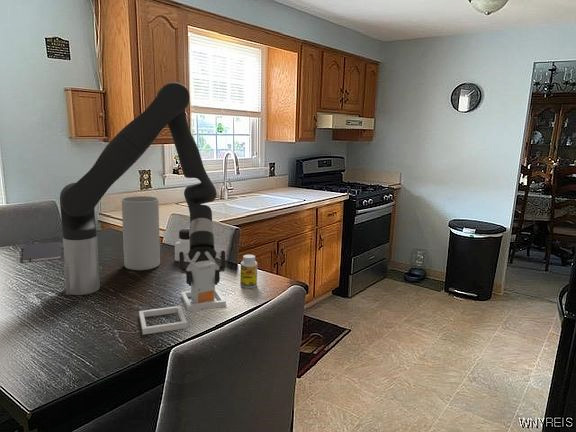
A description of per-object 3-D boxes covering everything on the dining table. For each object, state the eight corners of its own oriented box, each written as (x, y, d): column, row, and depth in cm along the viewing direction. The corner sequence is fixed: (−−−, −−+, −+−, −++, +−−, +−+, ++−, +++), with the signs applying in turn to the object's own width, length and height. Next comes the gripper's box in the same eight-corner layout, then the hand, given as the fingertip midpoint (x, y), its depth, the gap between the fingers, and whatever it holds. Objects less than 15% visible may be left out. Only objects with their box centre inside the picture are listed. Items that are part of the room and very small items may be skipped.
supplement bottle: (237, 287, 137) (237, 257, 135) (244, 281, 142) (244, 252, 140) (253, 289, 135) (253, 259, 133) (259, 283, 140) (260, 254, 138)
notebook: (61, 259, 158) (59, 245, 176) (61, 255, 158) (59, 241, 176) (22, 263, 152) (23, 248, 170) (22, 259, 151) (23, 245, 169)
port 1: (142, 334, 103) (142, 329, 103) (138, 313, 115) (138, 308, 115) (187, 327, 108) (187, 322, 107) (179, 307, 119) (179, 302, 119)
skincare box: (196, 305, 121) (196, 266, 119) (190, 300, 124) (190, 262, 122) (215, 301, 125) (215, 263, 122) (209, 296, 128) (209, 259, 126)
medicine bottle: (191, 262, 159) (191, 232, 157) (174, 260, 161) (174, 230, 158) (199, 257, 166) (199, 228, 164) (182, 255, 167) (182, 226, 165)
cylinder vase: (116, 267, 150) (113, 199, 145) (140, 258, 162) (138, 195, 157) (144, 273, 146) (142, 203, 141) (167, 263, 157) (165, 198, 152)
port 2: (188, 311, 117) (188, 306, 117) (180, 294, 129) (180, 289, 129) (225, 305, 122) (225, 301, 122) (215, 290, 133) (215, 285, 133)
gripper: (177, 230, 126) (177, 280, 117) (225, 229, 129) (228, 277, 121) (178, 242, 132) (178, 290, 123) (223, 241, 135) (226, 288, 127)
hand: (203, 284), depth 122 cm, fingers closed on skincare box, 7 cm apart
